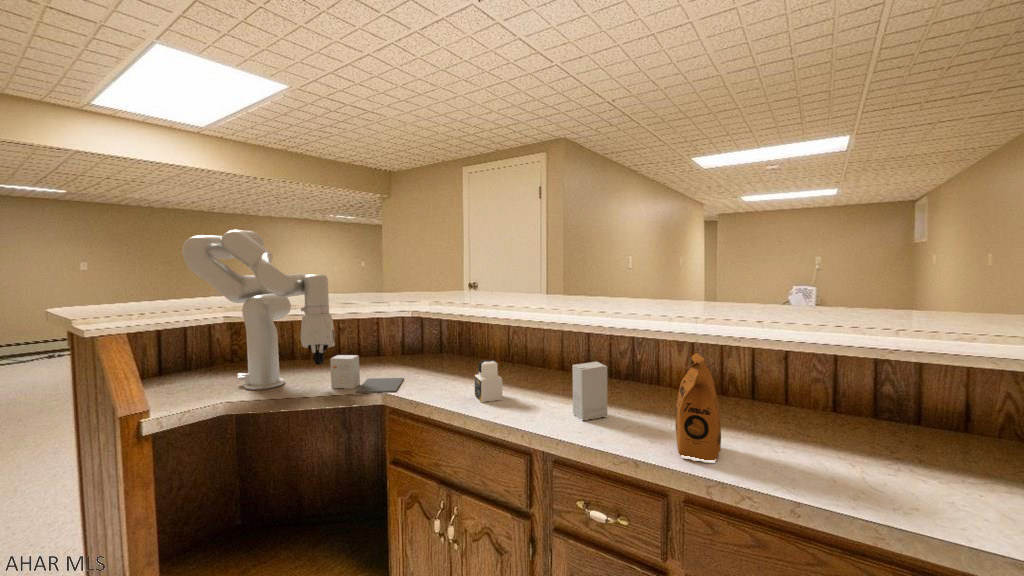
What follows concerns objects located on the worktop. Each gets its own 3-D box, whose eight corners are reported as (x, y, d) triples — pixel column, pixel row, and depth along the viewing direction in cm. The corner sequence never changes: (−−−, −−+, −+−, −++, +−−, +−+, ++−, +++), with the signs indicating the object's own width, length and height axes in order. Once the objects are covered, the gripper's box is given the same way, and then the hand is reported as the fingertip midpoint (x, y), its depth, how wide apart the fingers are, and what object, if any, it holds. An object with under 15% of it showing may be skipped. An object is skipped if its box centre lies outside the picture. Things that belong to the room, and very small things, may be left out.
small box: (360, 384, 164) (359, 355, 163) (353, 389, 158) (352, 358, 157) (338, 384, 164) (337, 354, 164) (330, 388, 159) (329, 358, 158)
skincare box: (597, 411, 135) (597, 360, 134) (608, 418, 129) (609, 365, 128) (571, 415, 132) (571, 363, 131) (581, 422, 126) (582, 368, 125)
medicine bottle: (474, 396, 150) (474, 359, 149) (495, 393, 152) (495, 357, 151) (480, 402, 143) (480, 364, 142) (502, 400, 146) (502, 362, 145)
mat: (355, 392, 154) (355, 391, 154) (367, 379, 170) (367, 378, 170) (395, 392, 155) (395, 390, 155) (403, 379, 170) (403, 377, 170)
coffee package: (671, 459, 103) (673, 361, 102) (676, 439, 115) (678, 350, 113) (720, 467, 99) (723, 365, 98) (720, 445, 111) (723, 354, 109)
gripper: (290, 312, 155) (292, 366, 156) (336, 311, 156) (338, 365, 157) (298, 309, 162) (301, 361, 163) (342, 309, 163) (344, 360, 164)
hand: (319, 363), depth 160 cm, fingers closed
